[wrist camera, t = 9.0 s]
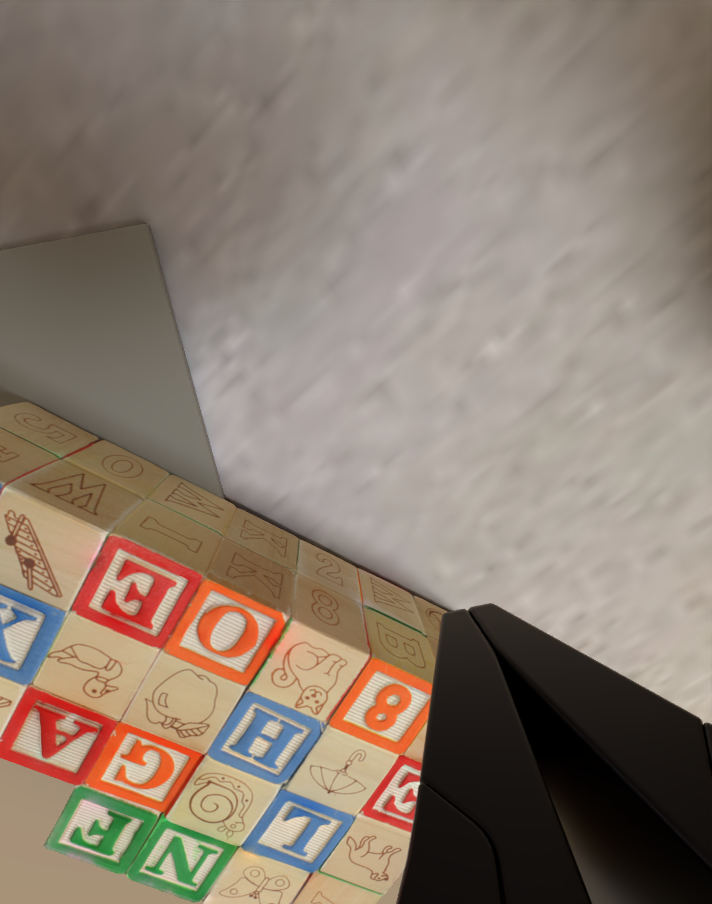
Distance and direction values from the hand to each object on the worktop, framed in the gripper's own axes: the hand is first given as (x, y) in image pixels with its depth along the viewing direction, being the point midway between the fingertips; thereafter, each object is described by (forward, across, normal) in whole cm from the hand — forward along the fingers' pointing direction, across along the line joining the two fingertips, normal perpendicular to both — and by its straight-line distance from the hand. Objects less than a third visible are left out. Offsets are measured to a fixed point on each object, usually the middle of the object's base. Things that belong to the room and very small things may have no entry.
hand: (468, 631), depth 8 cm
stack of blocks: (+10, +5, +2) cm, 11 cm away
